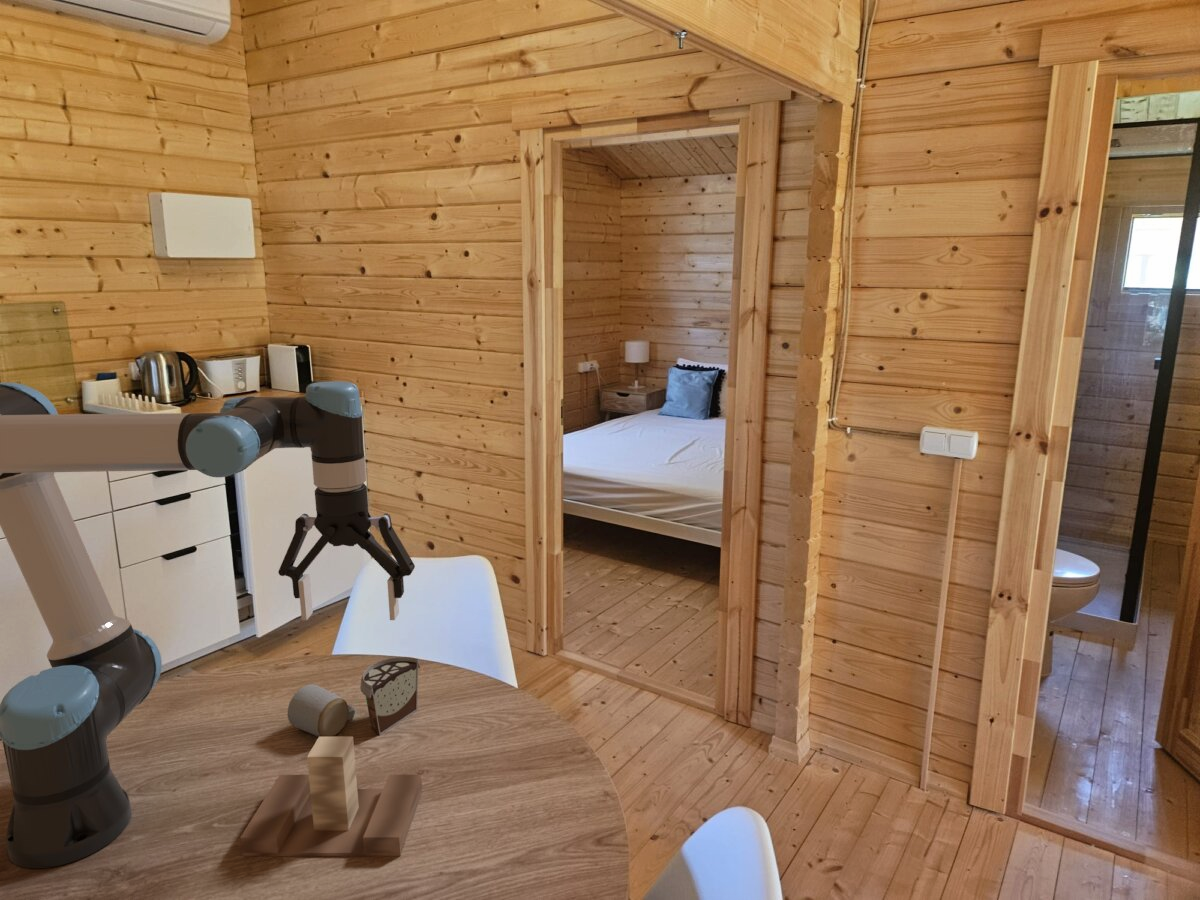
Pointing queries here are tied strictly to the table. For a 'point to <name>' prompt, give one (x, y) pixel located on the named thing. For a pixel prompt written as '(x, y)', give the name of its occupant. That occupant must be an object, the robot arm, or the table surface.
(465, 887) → the table surface
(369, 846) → the cradle
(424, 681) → the table surface
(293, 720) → the ceramic mug
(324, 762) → the tall wooden block
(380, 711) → the food container
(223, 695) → the table surface
